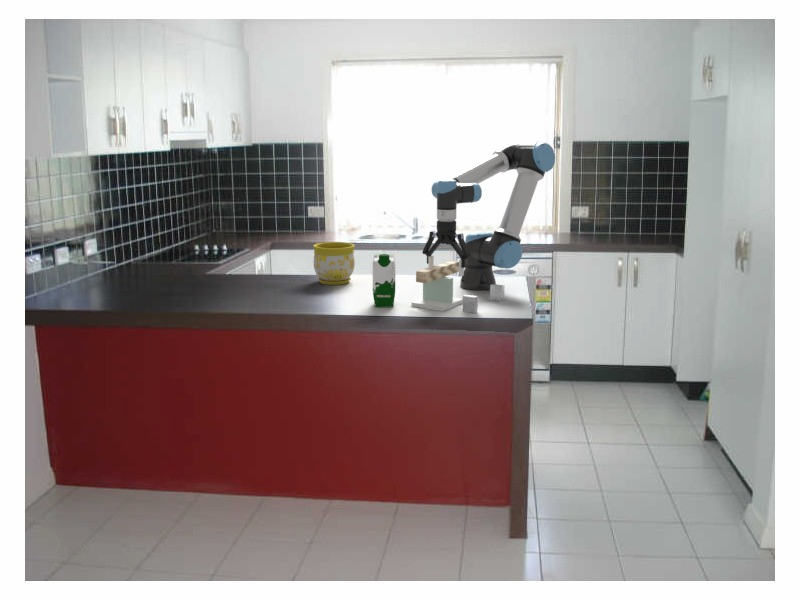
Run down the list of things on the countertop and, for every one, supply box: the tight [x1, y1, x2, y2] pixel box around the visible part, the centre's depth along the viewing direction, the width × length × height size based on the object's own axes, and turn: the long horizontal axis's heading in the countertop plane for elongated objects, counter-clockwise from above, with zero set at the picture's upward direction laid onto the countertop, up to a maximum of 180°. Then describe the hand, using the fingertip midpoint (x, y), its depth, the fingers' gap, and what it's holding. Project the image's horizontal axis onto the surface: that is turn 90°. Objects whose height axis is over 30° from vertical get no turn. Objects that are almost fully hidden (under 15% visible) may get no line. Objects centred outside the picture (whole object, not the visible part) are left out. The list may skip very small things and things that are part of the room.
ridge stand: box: [411, 276, 463, 312], centre depth 320 cm, size 16×14×11 cm
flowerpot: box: [312, 241, 356, 286], centre depth 360 cm, size 18×18×16 cm
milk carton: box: [372, 253, 396, 308], centre depth 318 cm, size 9×9×20 cm
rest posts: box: [462, 283, 505, 314], centre depth 318 cm, size 25×5×6 cm, turn 147°
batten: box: [415, 260, 459, 284], centre depth 318 cm, size 26×4×4 cm, turn 147°
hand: (445, 274), depth 323 cm, fingers open, 13 cm apart
